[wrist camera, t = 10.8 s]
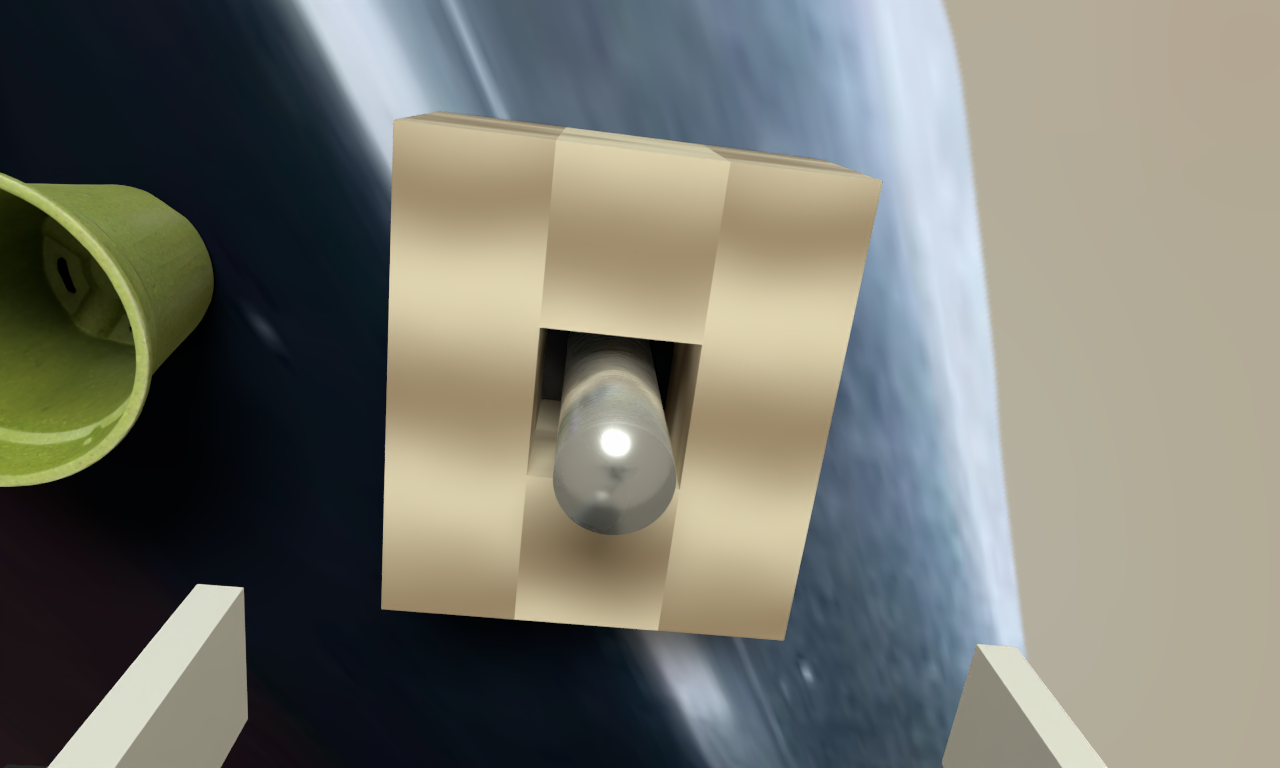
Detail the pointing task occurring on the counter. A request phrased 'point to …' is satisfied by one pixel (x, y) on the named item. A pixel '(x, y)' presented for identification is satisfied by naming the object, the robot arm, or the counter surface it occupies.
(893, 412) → the counter surface
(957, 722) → the robot arm
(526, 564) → the birch block
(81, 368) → the plant pot
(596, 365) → the steel pin
